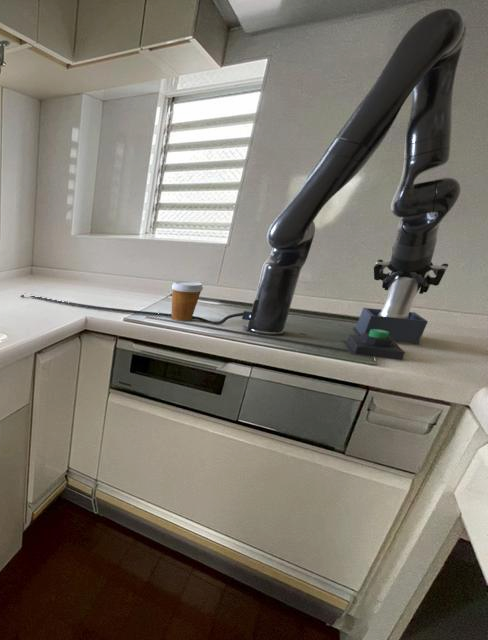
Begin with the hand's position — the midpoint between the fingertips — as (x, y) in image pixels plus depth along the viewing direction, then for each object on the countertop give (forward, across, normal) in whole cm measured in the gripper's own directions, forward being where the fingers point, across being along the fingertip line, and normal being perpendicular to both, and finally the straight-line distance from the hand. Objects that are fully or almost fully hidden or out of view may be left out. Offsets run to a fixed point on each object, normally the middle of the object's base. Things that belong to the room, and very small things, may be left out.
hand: (404, 289), depth 113 cm
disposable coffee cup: (-10, +48, +30) cm, 57 cm away
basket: (+9, 0, +10) cm, 14 cm away
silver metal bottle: (+7, 0, +9) cm, 12 cm away
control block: (-5, -1, +25) cm, 25 cm away
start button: (-8, -1, +22) cm, 24 cm away
